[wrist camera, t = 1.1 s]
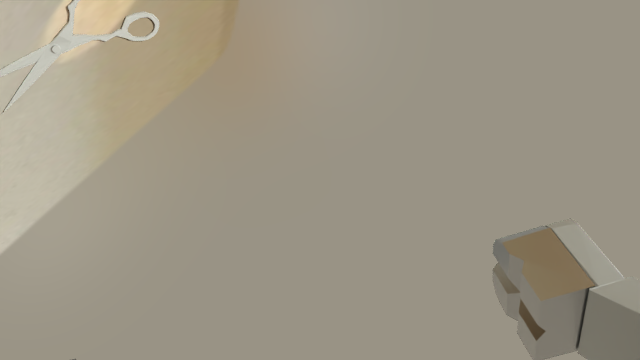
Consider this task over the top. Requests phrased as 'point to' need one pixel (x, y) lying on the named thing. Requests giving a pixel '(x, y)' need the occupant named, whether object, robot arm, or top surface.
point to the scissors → (68, 47)
